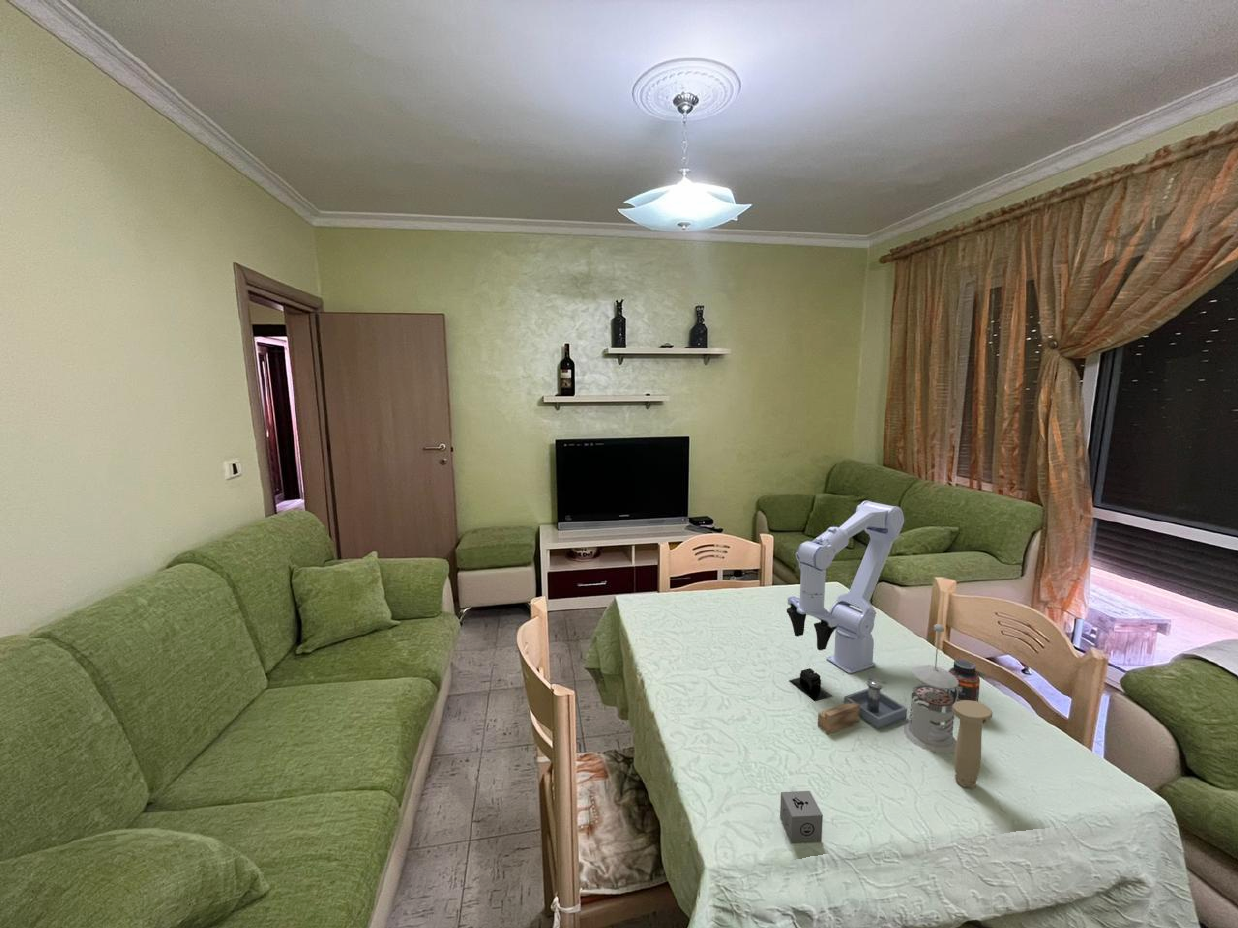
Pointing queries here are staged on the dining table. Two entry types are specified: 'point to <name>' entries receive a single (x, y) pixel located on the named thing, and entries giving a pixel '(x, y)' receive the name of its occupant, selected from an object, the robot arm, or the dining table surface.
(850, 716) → the bar
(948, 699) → the french press
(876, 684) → the pin
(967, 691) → the supplement bottle
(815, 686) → the build plate
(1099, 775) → the dining table surface
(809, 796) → the dice cube
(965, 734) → the handle
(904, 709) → the tray
